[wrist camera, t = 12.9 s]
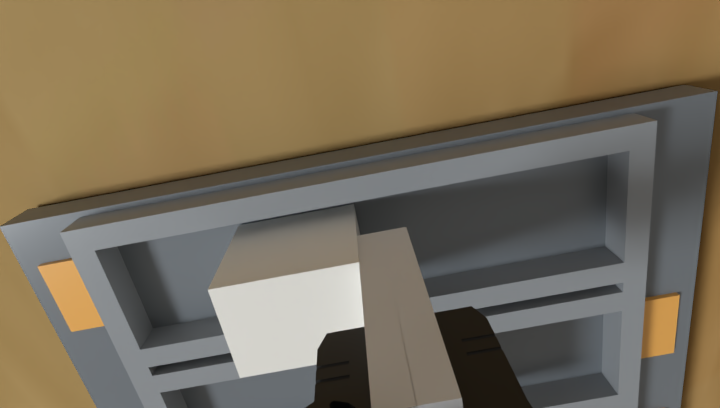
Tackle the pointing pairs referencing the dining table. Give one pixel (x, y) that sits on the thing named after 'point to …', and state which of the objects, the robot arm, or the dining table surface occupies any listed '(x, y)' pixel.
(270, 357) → the tab
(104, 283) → the switch board
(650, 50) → the dining table surface
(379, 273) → the robot arm
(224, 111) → the dining table surface
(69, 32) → the dining table surface
